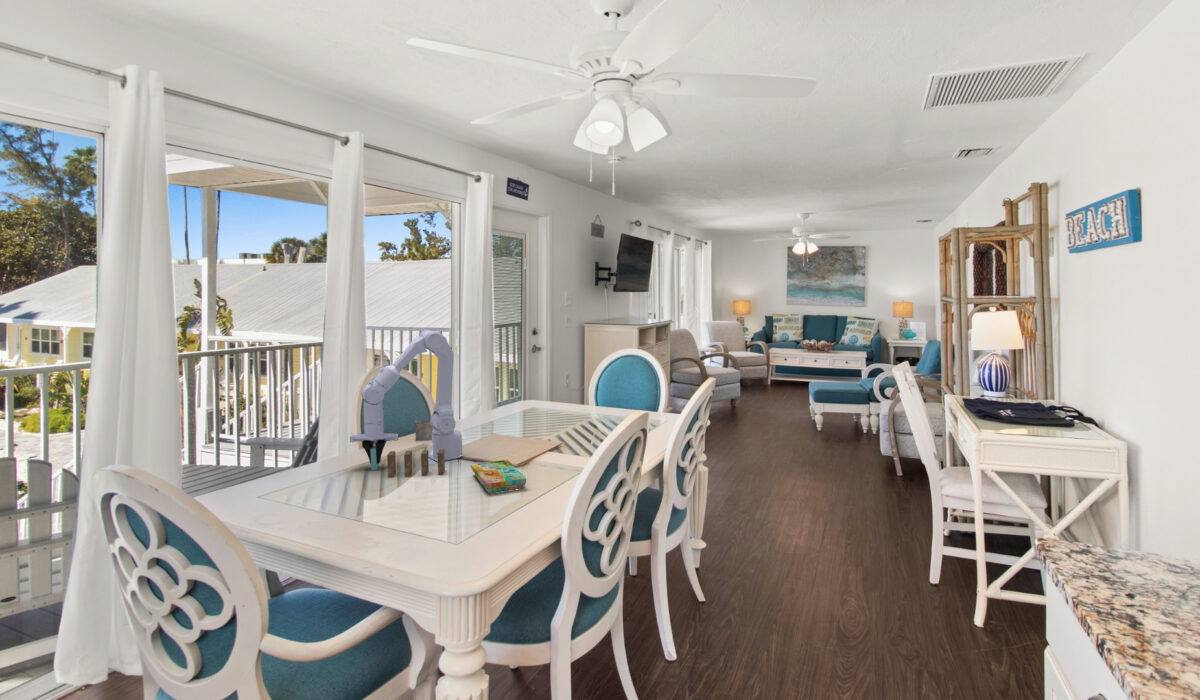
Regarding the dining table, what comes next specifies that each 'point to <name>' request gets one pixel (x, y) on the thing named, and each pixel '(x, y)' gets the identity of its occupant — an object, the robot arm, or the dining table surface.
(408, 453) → the domino
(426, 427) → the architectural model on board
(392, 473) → the domino
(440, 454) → the domino
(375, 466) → the domino
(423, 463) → the domino
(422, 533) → the dining table surface
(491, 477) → the puzzle game
